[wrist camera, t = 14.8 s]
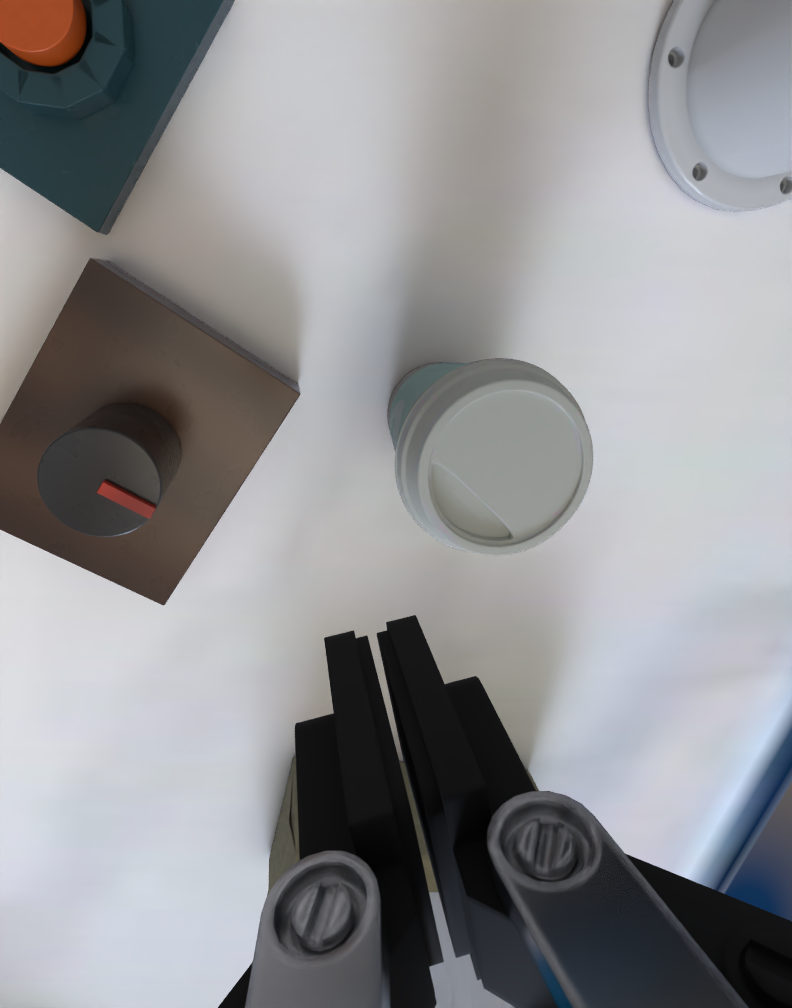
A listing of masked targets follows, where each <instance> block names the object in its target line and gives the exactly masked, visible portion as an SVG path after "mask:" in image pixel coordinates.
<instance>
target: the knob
mask: <svg viewBox="0 0 792 1008" xmlns="http://www.w3.org/2000/svg"><path fill="white" fill-rule="evenodd" d="M180 460H181V449H180V443H179V440H178V437H177V435H176V433H175V431H174V429H173V428H172V427H171V425H170V424H169V423H168V422H167V421H166V420H165V419H164V418H163V417H162V416H161V415H160V414H158V413H157V412H155V411H154V410H151V409H149V408H147V407H145V406H142V405H138V404H134V403H116V404H111V405H107V406H105V407H102V408H100V409H99V410H97V411H95V412H94V413H92V414H91V415H90V416H88V417H87V418H85V419H84V420H82V421H81V422H79V423H78V424H77V425H75V426H74V427H72V428H71V429H69V430H68V431H66V432H65V433H64V434H62V435H61V436H59V437H58V438H57V439H55V440H54V441H53V442H52V443H51V444H50V445H49V446H48V447H47V448H46V450H45V452H44V453H43V455H42V457H41V459H40V462H39V466H38V471H37V483H38V488H39V492H40V494H41V497H42V499H43V501H44V503H45V505H46V506H47V508H48V509H49V511H50V512H51V513H52V514H53V515H54V516H55V517H56V518H57V519H58V520H59V521H60V522H62V523H63V524H65V525H66V526H68V527H69V528H71V529H73V530H75V531H78V532H80V533H83V534H87V535H91V536H96V537H114V536H120V535H124V534H127V533H130V532H132V531H134V530H136V529H138V528H140V527H141V526H143V525H144V524H145V523H146V522H147V521H148V520H149V519H150V518H151V517H152V516H153V514H154V513H155V511H156V510H157V508H158V506H159V504H160V502H161V500H162V499H163V497H164V495H165V493H166V491H167V489H168V487H169V486H170V484H171V482H172V480H173V478H174V476H175V474H176V472H177V470H178V468H179V465H180Z"/></svg>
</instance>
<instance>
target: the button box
mask: <svg viewBox="0 0 792 1008" xmlns="http://www.w3.org/2000/svg"><path fill="white" fill-rule="evenodd" d="M234 1H235V0H82V2H83V5H84V9H85V13H86V20H87V29H86V36H85V40H84V43H83V45H82V47H81V49H80V51H79V52H78V53H77V55H76V56H75V57H74V58H73V59H71V60H70V61H68V62H67V63H65V64H62V65H60V66H55V67H41V66H37V65H34V64H31V63H28V62H26V61H24V60H22V59H21V58H19V57H18V56H16V55H15V54H14V53H12V52H11V51H10V50H9V49H8V48H7V47H5V46H4V45H3V44H2V43H1V42H0V168H1V169H3V170H4V171H6V172H7V173H9V174H10V175H12V176H13V177H15V178H16V179H18V180H19V181H21V182H22V183H24V184H25V185H27V186H28V187H30V188H31V189H33V190H34V191H36V192H37V193H39V194H40V195H42V196H43V197H45V198H46V199H48V200H49V201H51V202H52V203H54V204H55V205H57V206H58V207H60V208H61V209H63V210H64V211H66V212H67V213H69V214H70V215H72V216H73V217H75V218H76V219H78V220H80V221H81V222H83V223H84V224H86V225H87V226H89V227H90V228H92V229H93V230H95V231H96V232H99V233H102V234H106V235H107V234H108V233H109V231H110V229H111V227H112V226H113V224H114V222H115V220H116V218H117V216H118V215H119V213H120V211H121V209H122V207H123V205H124V203H125V202H126V200H127V198H128V196H129V194H130V192H131V191H132V189H133V187H134V185H135V183H136V181H137V180H138V178H139V176H140V174H141V172H142V170H143V168H144V167H145V165H146V163H147V161H148V159H149V157H150V156H151V154H152V152H153V150H154V148H155V146H156V145H157V143H158V141H159V139H160V137H161V135H162V133H163V132H164V130H165V128H166V126H167V124H168V122H169V121H170V119H171V117H172V115H173V113H174V111H175V110H176V108H177V106H178V104H179V102H180V100H181V98H182V97H183V95H184V93H185V91H186V89H187V87H188V86H189V84H190V82H191V80H192V78H193V76H194V75H195V73H196V71H197V69H198V67H199V65H200V63H201V62H202V60H203V58H204V56H205V54H206V52H207V51H208V49H209V47H210V45H211V43H212V41H213V40H214V38H215V36H216V34H217V32H218V30H219V28H220V27H221V25H222V23H223V21H224V19H225V17H226V16H227V14H228V12H229V10H230V8H231V6H232V5H233V3H234Z"/></svg>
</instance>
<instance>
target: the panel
mask: <svg viewBox="0 0 792 1008" xmlns="http://www.w3.org/2000/svg"><path fill="white" fill-rule="evenodd" d="M299 396H300V390H299V385H298V384H297V383H295V382H294V381H292V380H291V379H289V378H288V377H286V376H285V375H283V374H281V373H280V372H278V371H277V370H275V369H274V368H272V367H271V366H269V365H268V364H266V363H265V362H263V361H262V360H260V359H258V358H257V357H255V356H254V355H252V354H251V353H249V352H248V351H246V350H245V349H243V348H242V347H240V346H238V345H237V344H235V343H234V342H232V341H231V340H229V339H228V338H226V337H225V336H223V335H222V334H220V333H219V332H217V331H215V330H214V329H212V328H211V327H209V326H208V325H206V324H205V323H203V322H202V321H200V320H199V319H197V318H196V317H194V316H192V315H191V314H189V313H188V312H186V311H185V310H183V309H182V308H180V307H179V306H177V305H176V304H174V303H172V302H171V301H169V300H168V299H166V298H165V297H163V296H162V295H160V294H159V293H157V292H156V291H154V290H153V289H151V288H149V287H148V286H146V285H145V284H143V283H142V282H140V281H139V280H137V279H136V278H134V277H133V276H131V275H129V274H128V273H126V272H125V271H123V270H122V269H120V268H119V267H117V266H116V265H114V264H113V263H111V262H110V261H107V260H100V259H92V258H90V259H89V261H88V263H87V265H86V267H85V268H84V270H83V272H82V274H81V276H80V278H79V280H78V281H77V283H76V285H75V287H74V289H73V291H72V292H71V294H70V296H69V298H68V300H67V302H66V304H65V305H64V307H63V309H62V311H61V313H60V315H59V316H58V318H57V320H56V322H55V324H54V326H53V328H52V329H51V331H50V333H49V335H48V337H47V339H46V340H45V342H44V344H43V346H42V348H41V350H40V352H39V353H38V355H37V357H36V359H35V361H34V363H33V365H32V366H31V368H30V370H29V372H28V374H27V376H26V377H25V379H24V381H23V383H22V385H21V387H20V389H19V390H18V392H17V394H16V396H15V398H14V400H13V401H12V403H11V405H10V407H9V409H8V411H7V413H6V414H5V416H4V418H3V420H2V422H1V424H0V530H2V531H5V532H7V533H9V534H11V535H13V536H15V537H17V538H20V539H22V540H24V541H26V542H28V543H30V544H32V545H35V546H37V547H39V548H41V549H43V550H45V551H48V552H50V553H52V554H54V555H56V556H58V557H60V558H63V559H65V560H67V561H69V562H71V563H73V564H75V565H78V566H80V567H82V568H84V569H86V570H88V571H91V572H93V573H95V574H97V575H99V576H101V577H103V578H106V579H108V580H110V581H112V582H114V583H116V584H118V585H121V586H123V587H125V588H127V589H129V590H131V591H134V592H136V593H138V594H140V595H142V596H144V597H146V598H149V599H151V600H153V601H155V602H157V603H159V604H161V605H165V604H166V602H167V600H168V599H169V597H170V596H171V594H172V593H173V591H174V590H175V588H176V586H177V585H178V583H179V582H180V580H181V579H182V577H183V576H184V574H185V572H186V571H187V569H188V568H189V566H190V565H191V563H192V562H193V560H194V559H195V557H196V555H197V554H198V552H199V551H200V549H201V548H202V546H203V545H204V543H205V541H206V540H207V538H208V537H209V535H210V534H211V532H212V531H213V529H214V528H215V526H216V524H217V523H218V521H219V520H220V518H221V517H222V515H223V514H224V512H225V510H226V509H227V507H228V506H229V504H230V503H231V501H232V500H233V498H234V496H235V495H236V493H237V492H238V490H239V489H240V487H241V486H242V484H243V483H244V481H245V479H246V478H247V476H248V475H249V473H250V472H251V470H252V469H253V467H254V465H255V464H256V462H257V461H258V459H259V458H260V456H261V455H262V453H263V452H264V450H265V448H266V447H267V445H268V444H269V442H270V441H271V439H272V438H273V436H274V434H275V433H276V431H277V430H278V428H279V427H280V425H281V424H282V422H283V421H284V419H285V417H286V416H287V414H288V413H289V411H290V410H291V408H292V407H293V405H294V403H295V402H296V400H297V399H298V397H299ZM116 403H134V404H138V405H142V406H145V407H147V408H149V409H151V410H154V411H155V412H157V413H158V414H160V415H161V416H162V417H163V418H164V419H165V420H166V421H167V422H168V423H169V424H170V425H171V427H172V428H173V429H174V431H175V433H176V435H177V437H178V440H179V443H180V449H181V460H180V465H179V468H178V470H177V472H176V474H175V476H174V478H173V480H172V482H171V484H170V486H169V487H168V489H167V491H166V493H165V495H164V497H163V499H162V500H161V502H160V504H159V506H158V508H157V510H156V511H155V513H154V514H153V516H152V517H151V518H150V519H149V520H148V521H147V522H146V523H145V524H144V525H143V526H141V527H140V528H138V529H136V530H134V531H132V532H130V533H127V534H124V535H120V536H114V537H96V536H91V535H87V534H83V533H80V532H78V531H75V530H73V529H71V528H69V527H68V526H66V525H65V524H63V523H62V522H60V521H59V520H58V519H57V518H56V517H55V516H54V515H53V514H52V513H51V512H50V511H49V509H48V508H47V506H46V505H45V503H44V501H43V499H42V497H41V494H40V492H39V488H38V483H37V471H38V466H39V462H40V459H41V457H42V455H43V453H44V452H45V450H46V448H47V447H48V446H49V445H50V444H51V443H52V442H53V441H54V440H55V439H57V438H58V437H59V436H61V435H62V434H64V433H65V432H66V431H68V430H69V429H71V428H72V427H74V426H75V425H77V424H78V423H79V422H81V421H82V420H84V419H85V418H87V417H88V416H90V415H91V414H92V413H94V412H95V411H97V410H99V409H100V408H102V407H105V406H107V405H111V404H116Z"/></svg>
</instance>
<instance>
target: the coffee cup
mask: <svg viewBox="0 0 792 1008" xmlns="http://www.w3.org/2000/svg"><path fill="white" fill-rule="evenodd" d="M388 424H389V429H390V433H391V437H392V441H393V445H394V449H395V452H396V454H395V474H396V481H397V486H398V490H399V493H400V496H401V498H402V501H403V503H404V505H405V507H406V509H407V510H408V512H409V513H410V515H411V516H412V518H413V519H414V520H415V521H416V522H417V524H418V525H419V526H420V527H421V528H423V529H424V530H425V531H426V532H427V533H429V534H430V535H431V536H433V537H434V538H436V539H437V540H439V541H440V542H442V543H444V544H446V545H448V546H450V547H452V548H455V549H458V550H462V551H466V552H472V553H476V554H482V555H494V556H499V555H509V554H514V553H518V552H521V551H525V550H527V549H530V548H532V547H534V546H536V545H538V544H540V543H542V542H544V541H545V540H547V539H548V538H550V537H551V536H553V535H554V534H555V533H556V532H557V531H559V530H560V529H561V528H562V527H563V526H564V525H565V524H566V523H567V522H568V520H569V519H570V518H571V517H572V516H573V514H574V513H575V511H576V510H577V508H578V507H579V505H580V503H581V502H582V500H583V498H584V495H585V493H586V491H587V488H588V485H589V482H590V478H591V473H592V466H593V446H592V440H591V436H590V433H589V429H588V426H587V424H586V422H585V418H584V416H583V413H582V411H581V409H580V407H579V405H578V403H577V402H576V400H575V399H574V397H573V396H572V395H571V393H570V392H569V391H568V390H567V389H566V388H565V387H564V386H563V385H562V384H561V383H560V382H559V381H558V380H557V379H556V378H555V377H553V376H552V375H551V374H549V373H548V372H546V371H545V370H543V369H541V368H539V367H537V366H535V365H533V364H530V363H527V362H524V361H520V360H514V359H505V358H495V359H485V360H480V361H476V362H472V363H469V364H464V363H431V364H426V365H423V366H420V367H418V368H416V369H414V370H412V371H411V372H409V373H408V374H407V375H406V376H404V377H403V378H402V379H401V381H400V382H399V383H398V384H397V386H396V387H395V389H394V391H393V393H392V395H391V398H390V401H389V405H388Z"/></svg>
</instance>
